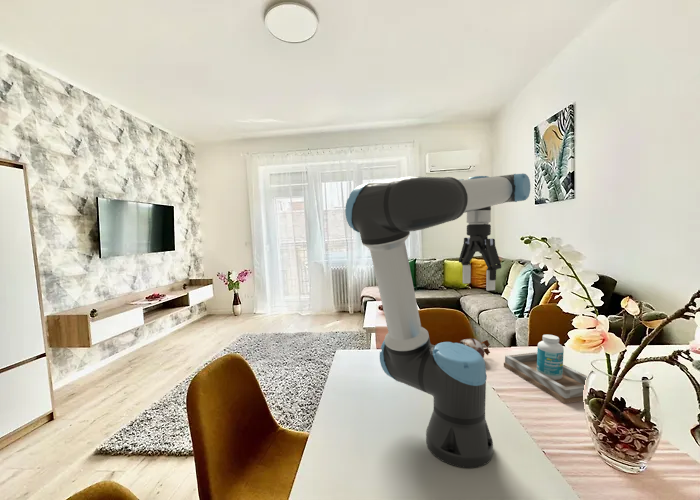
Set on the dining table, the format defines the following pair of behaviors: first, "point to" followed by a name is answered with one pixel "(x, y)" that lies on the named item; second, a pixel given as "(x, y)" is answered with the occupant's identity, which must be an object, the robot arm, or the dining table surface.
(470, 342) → the decorative duck model
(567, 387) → the grey rimmed shallow tray
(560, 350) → the pill bottle
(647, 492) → the dining table surface
